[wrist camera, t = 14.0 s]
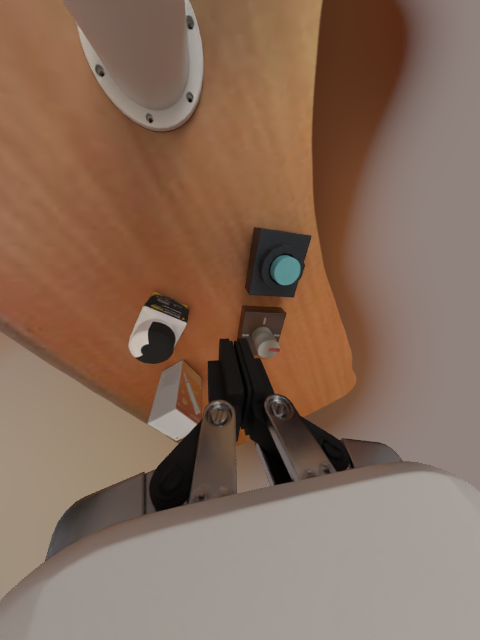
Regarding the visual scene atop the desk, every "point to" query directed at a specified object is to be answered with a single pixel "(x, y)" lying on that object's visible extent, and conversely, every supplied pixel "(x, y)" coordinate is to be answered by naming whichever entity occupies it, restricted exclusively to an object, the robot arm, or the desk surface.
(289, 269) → the teal button cap
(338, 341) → the desk surface
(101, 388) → the desk surface
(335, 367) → the desk surface
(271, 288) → the button housing
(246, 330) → the rotary knob switch
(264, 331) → the dial
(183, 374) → the small box
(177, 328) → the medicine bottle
